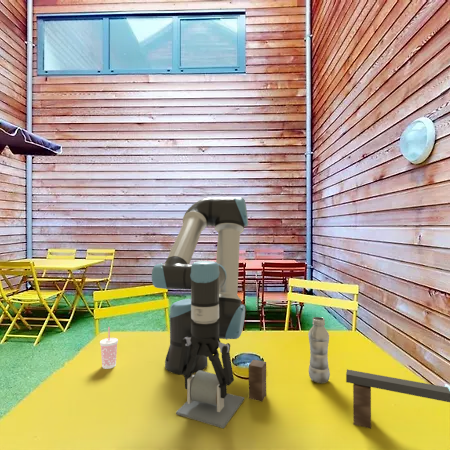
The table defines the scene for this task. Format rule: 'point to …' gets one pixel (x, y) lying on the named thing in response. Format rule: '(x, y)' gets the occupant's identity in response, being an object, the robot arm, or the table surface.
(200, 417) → the mat
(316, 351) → the plastic bottle
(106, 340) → the beverage cup
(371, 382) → the dark grey bar
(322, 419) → the table surface
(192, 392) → the ceramic mug
